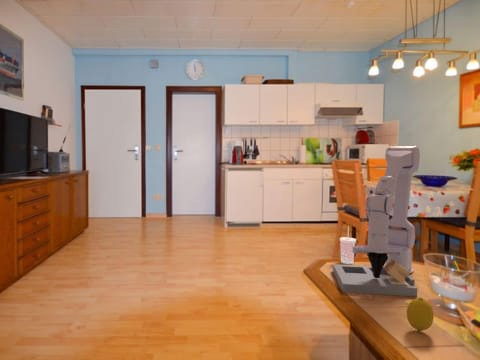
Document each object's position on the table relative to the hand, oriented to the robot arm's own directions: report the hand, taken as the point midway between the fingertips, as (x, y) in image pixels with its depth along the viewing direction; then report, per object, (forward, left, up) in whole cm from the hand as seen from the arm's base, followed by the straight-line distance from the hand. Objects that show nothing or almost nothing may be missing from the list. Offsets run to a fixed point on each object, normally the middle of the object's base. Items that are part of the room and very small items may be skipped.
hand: (376, 277), depth 112 cm
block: (-3, +4, +1) cm, 5 cm away
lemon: (+20, +20, -3) cm, 29 cm away
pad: (-4, +5, -1) cm, 6 cm away
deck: (-3, -3, -3) cm, 5 cm away
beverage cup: (-18, -20, -3) cm, 27 cm away
